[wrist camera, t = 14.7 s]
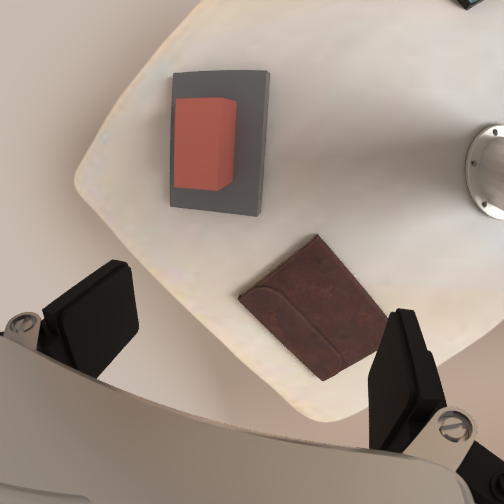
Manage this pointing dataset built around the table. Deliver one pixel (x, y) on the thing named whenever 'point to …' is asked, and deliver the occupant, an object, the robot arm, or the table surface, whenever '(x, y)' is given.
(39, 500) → the robot arm
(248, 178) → the board
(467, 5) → the disk drive
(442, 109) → the table surface
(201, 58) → the table surface
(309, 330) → the notebook
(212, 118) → the block
